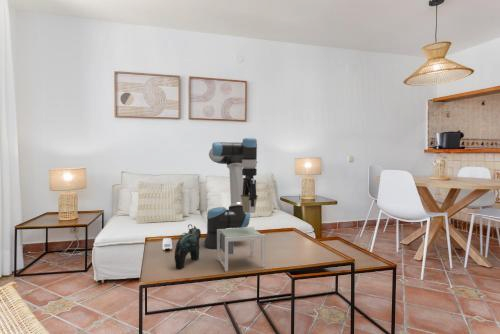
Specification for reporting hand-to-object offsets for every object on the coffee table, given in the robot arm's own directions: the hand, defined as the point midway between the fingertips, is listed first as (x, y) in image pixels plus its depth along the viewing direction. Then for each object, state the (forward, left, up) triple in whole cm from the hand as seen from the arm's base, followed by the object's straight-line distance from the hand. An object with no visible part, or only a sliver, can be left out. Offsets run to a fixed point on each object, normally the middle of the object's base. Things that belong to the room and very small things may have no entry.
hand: (249, 211), depth 165 cm
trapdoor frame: (-3, -4, -27) cm, 28 cm away
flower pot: (0, 0, -1) cm, 1 cm away
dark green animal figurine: (-26, -17, -27) cm, 42 cm away
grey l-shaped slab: (-3, -4, -20) cm, 21 cm away
